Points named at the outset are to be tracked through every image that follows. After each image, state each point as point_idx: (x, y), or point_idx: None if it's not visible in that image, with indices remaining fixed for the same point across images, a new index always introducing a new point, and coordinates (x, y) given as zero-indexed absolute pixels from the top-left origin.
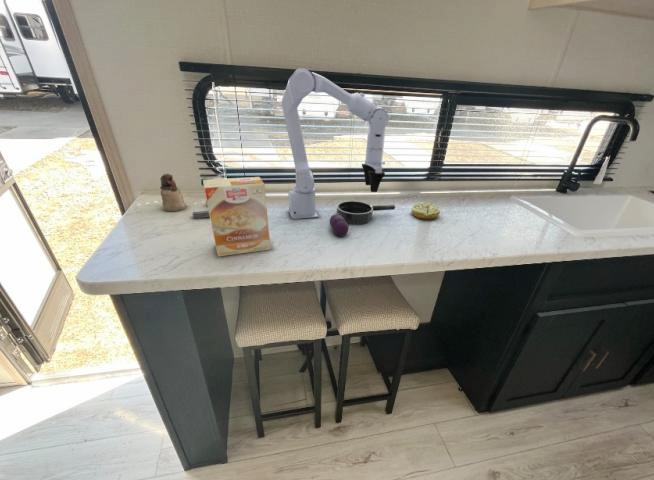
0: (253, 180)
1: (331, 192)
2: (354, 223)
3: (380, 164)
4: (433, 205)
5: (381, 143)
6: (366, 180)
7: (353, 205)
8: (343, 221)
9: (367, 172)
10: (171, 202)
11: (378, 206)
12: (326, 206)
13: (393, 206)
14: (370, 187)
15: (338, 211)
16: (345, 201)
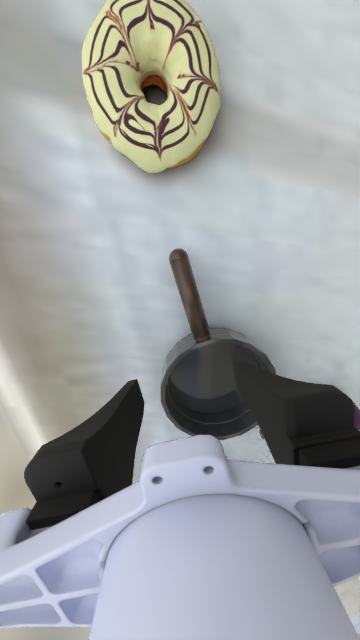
0: None
1: (17, 439)
2: None
3: (294, 496)
4: (137, 16)
5: None
6: (139, 419)
7: (166, 389)
8: (355, 424)
9: (127, 457)
10: None
11: (201, 318)
12: (140, 441)
13: (186, 257)
14: (245, 399)
15: (239, 429)
16: (171, 420)
